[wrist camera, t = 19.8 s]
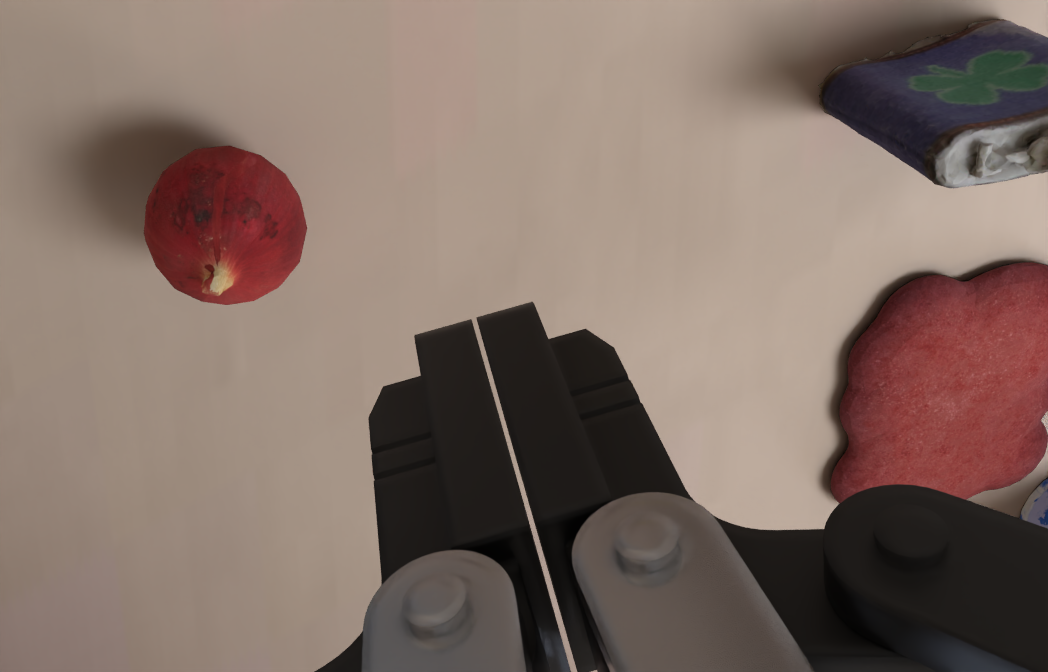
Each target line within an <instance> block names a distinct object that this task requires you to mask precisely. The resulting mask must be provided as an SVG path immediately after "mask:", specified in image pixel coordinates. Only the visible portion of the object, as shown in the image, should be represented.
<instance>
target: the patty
mask: <svg viewBox="0 0 1048 672" xmlns="http://www.w3.org/2000/svg"><path fill="white" fill-rule="evenodd" d="M847 371H848V378H849V382H848V386H847V389H846V391H845V393H844V395H843V398H842V401H841V404H840V410H839V416H840V420H841V423H842V426H843V428H844V429H845V431H846V432H847V434H848V439H849V445H848V448H847V450H846V452H845V454H844V455H843V456H842V458H841V459H840V460H839V461H838V463H837V464H836V467H835V469H834V471H833V473H832V477H831V491H832V494H833V496H834V497H835V499H836V500H837V501H838V502H839V503H841V502H843V501H844V500H845V499H847V498H848V497H850V496H852V495H854V494H856V493H857V492H860V491H863V490H866V489H869V488H872V487H877V486H882V485H894V484H904V485H916V486H922V487H928V488H931V489H935V490H938V491H942V492H945V493H948V494H950V495H953V496H956V497H959V498H962V499H965V500H967V499H968V498H970V497H972V496H974V495H976V494H978V493H981V492H983V491H986V490H994V489H999V488H1003V487H1007V486H1010V485H1012V484H1014V483H1016V482H1018V481H1020V480H1022V479H1023V478H1024V477H1025V476H1027V475H1028V474H1029V473H1031V472H1032V471H1033V470H1034V469H1035V468H1036V466H1037V465H1038V464H1039V462H1040V461H1041V459H1042V458H1043V456H1044V454H1045V451H1046V448H1047V443H1048V435H1047V431H1046V428H1045V426H1044V425H1043V423H1042V422H1041V419H1042V417H1043V416H1044V415H1045V413H1046V412H1047V411H1048V266H1047V265H1043V264H1038V263H1033V262H1024V263H1015V264H1010V265H1006V266H1002V267H998V268H995V269H992V270H990V271H988V272H985V273H983V274H981V275H979V276H977V277H975V278H973V279H971V280H969V281H966V282H964V281H958V280H956V279H953V278H950V277H947V276H943V275H930V276H924V277H920V278H917V279H915V280H913V281H911V282H909V283H907V284H906V285H904V286H902V287H900V288H899V289H898V290H897V291H896V292H895V293H893V294H892V295H891V296H890V298H889V299H888V300H887V301H886V302H885V304H884V305H883V307H882V309H881V311H880V312H879V314H878V316H877V318H876V319H875V320H874V322H873V323H872V324H871V325H870V326H869V327H868V329H867V330H866V331H865V332H864V333H863V334H862V335H861V336H860V337H859V339H858V340H857V341H856V343H855V345H854V346H853V348H852V350H851V353H850V356H849V360H848V367H847Z"/></svg>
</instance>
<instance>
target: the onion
mask: <svg viewBox="0 0 1048 672" xmlns="http://www.w3.org/2000/svg"><path fill="white" fill-rule="evenodd" d="M306 231H307V226H306V221H305V217H304V212H303V208H302V204H301V200H300V197H299V195H298V193H297V192H296V190H295V189H294V187H293V185H292V184H291V182H290V181H289V179H288V177H287V176H286V174H285V173H283V172H282V171H281V170H279V169H278V168H277V167H275V166H274V165H273V164H271V163H270V162H269V161H268V160H266V159H265V158H264V157H262V156H261V155H258V154H254V153H251V152H248V151H245V150H242V149H239V148H235V147H232V146H221V147H211V148H202V149H195V150H194V151H192V152H191V153H189V154H187V155H186V156H184V157H183V158H181V159H179V160H178V161H176V162H174V163H173V164H171V165H170V166H169V167H168V168H166V169H165V170H164V171H163V172H162V174H161V176H160V177H159V179H158V181H157V183H156V184H155V186H154V188H153V190H152V191H151V193H150V195H149V197H148V200H147V204H146V212H145V225H144V236H145V240H146V243H147V245H148V248H149V250H150V253H151V255H152V258H153V260H154V263H155V265H156V267H157V268H158V269H159V270H160V272H161V273H162V274H163V275H164V276H165V278H166V279H167V280H168V281H169V282H170V284H171V285H172V286H173V287H174V288H175V289H177V290H178V291H181V292H183V293H185V294H187V295H189V296H191V297H193V298H195V299H198V300H200V301H203V302H210V303H217V304H224V305H230V304H236V303H243V302H250V301H254V300H256V299H258V298H260V297H262V296H264V295H265V294H267V293H269V292H271V291H273V290H275V289H277V288H278V287H279V286H280V285H281V284H282V283H283V282H284V281H285V279H286V278H287V277H288V276H289V274H290V273H291V272H292V271H293V270H294V268H295V267H296V266H297V265H298V263H299V262H300V258H301V253H302V249H303V244H304V240H305V235H306Z"/></svg>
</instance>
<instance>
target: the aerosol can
mask: <svg viewBox="0 0 1048 672" xmlns="http://www.w3.org/2000/svg"><path fill="white" fill-rule="evenodd" d="M1020 519H1022V520H1025V521H1028V522H1031V523H1034V524H1036V525H1039V526H1042V527H1045V528H1048V478H1047V479H1046V480H1044V481H1043V482H1042V483H1041V484H1040V485H1039V486H1038V487H1037V489H1036V490H1035V491H1034V492H1033V493H1032V494H1031V495H1030V496H1029V498H1028V500H1027V502H1026V503H1025V505H1024V507H1023V508H1022V511H1021V516H1020Z"/></svg>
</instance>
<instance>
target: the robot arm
mask: <svg viewBox="0 0 1048 672" xmlns="http://www.w3.org/2000/svg"><path fill="white" fill-rule="evenodd" d="M477 322H478V325H479V329H480V332H481V336H482V339H483V343H484V347H485V350H486V354H487V357H488V361H489V364H490V368H491V371H492V375H493V379H494V382H495V386H496V389H497V393H498V396H499V400H500V403H501V407H502V410H503V414H504V418H505V421H506V425H507V428H508V432H509V435H510V439H511V442H512V446H513V449H514V453H515V456H516V460H517V463H518V467H519V470H520V474H521V477H522V481H523V484H524V488H525V491H526V495H527V498H528V501H529V505H530V508H531V512H532V515H533V519H534V522H535V526H536V529H537V533H538V536H539V540H540V543H541V547H542V550H543V554H544V557H545V561H546V564H547V568H548V571H549V574H550V578H551V581H552V585H553V588H554V592H555V595H556V599H557V602H558V606H559V609H560V613H561V616H562V620H563V623H564V627H565V630H566V634H567V637H568V641H569V644H570V648H571V651H572V654H573V658H574V661H575V665H576V668H577V672H591V671H594V670H597V671H598V672H1048V528H1045V527H1042V526H1039V525H1036V524H1034V523H1031V522H1028V521H1025V520H1022V519H1019V518H1016V517H1014V516H1011V515H1008V514H1005V513H1002V512H999V511H996V510H993V509H991V508H988V507H985V506H982V505H979V504H976V503H973V502H970V501H968V500H965V499H962V498H959V497H956V496H953V495H950V494H948V493H945V492H942V491H938V490H935V489H931V488H928V487H922V486H916V485H904V484H894V485H882V486H877V487H872V488H869V489H866V490H863V491H860V492H857V493H856V494H854V495H852V496H850V497H848V498H847V499H845V500H844V501H843V502H841V503H840V504H839V505H838V506H837V507H836V508H835V509H834V510H833V512H832V513H831V514H830V516H829V518H828V520H827V522H826V525H825V529H813V530H758V529H751V528H745V527H741V526H738V525H734V524H731V523H728V522H726V521H723V520H721V519H718V518H717V517H715V516H713V515H712V514H711V513H710V512H709V511H707V510H706V509H705V508H704V507H703V506H701V505H699V504H698V503H696V502H695V501H694V500H693V499H692V498H691V497H690V495H689V494H688V492H687V491H686V489H685V487H684V485H683V483H682V481H681V479H680V477H679V475H678V474H677V472H676V470H675V468H674V466H673V464H672V462H671V460H670V458H669V456H668V454H667V452H666V450H665V448H664V446H663V444H662V442H661V440H660V438H659V436H658V434H657V432H656V430H655V428H654V426H653V424H652V422H651V420H650V418H649V416H648V414H647V412H646V410H645V408H644V406H643V404H642V403H640V400H639V396H638V394H637V392H636V390H635V389H634V387H633V385H632V383H631V381H630V380H629V379H628V375H627V373H626V371H625V369H624V367H623V365H622V363H621V361H620V359H619V357H618V355H617V353H616V351H615V349H614V347H612V346H611V345H609V344H608V343H606V342H605V341H603V340H602V339H600V338H599V337H597V336H596V335H594V334H593V333H591V332H590V331H588V330H586V329H583V330H579V331H576V332H572V333H569V334H565V335H562V336H558V337H555V338H551V339H548V337H547V335H546V332H545V330H544V327H543V325H542V322H541V320H540V317H539V315H538V312H537V310H536V307H535V305H534V303H533V302H530V303H526V304H523V305H519V306H516V307H512V308H508V309H505V310H501V311H498V312H494V313H491V314H487V315H484V316H480V317H477ZM415 344H416V349H417V355H418V361H419V367H420V373H421V376H419V377H415V378H412V379H408V380H405V381H401V382H398V383H394V384H390V385H387V386H383V388H382V390H381V392H380V395H379V397H378V399H377V401H376V403H375V405H374V407H373V409H372V412H371V414H370V416H369V430H370V442H371V450H372V454H373V455H372V466H373V475H374V479H375V481H374V490H375V503H376V515H377V527H378V539H379V551H380V563H381V575H382V585H381V587H380V588H379V589H378V591H377V592H376V593H375V595H374V596H373V598H372V600H371V602H370V604H369V606H368V609H367V612H366V615H365V619H364V626H363V632H362V633H361V634H360V636H359V637H358V638H357V639H356V640H355V641H354V642H353V643H352V644H351V645H350V646H349V647H348V648H347V649H346V650H345V651H344V652H342V653H341V654H340V655H339V656H338V657H336V658H335V659H333V660H332V661H331V662H329V663H328V664H326V665H325V666H323V667H322V668H320V669H318V670H317V671H315V672H571V671H570V667H569V664H568V660H567V656H566V653H565V649H564V646H563V642H562V639H561V635H560V631H559V628H558V624H557V621H556V617H555V614H554V610H553V607H552V603H551V599H550V596H549V592H548V589H547V585H546V582H545V578H544V574H543V571H542V567H541V564H540V560H539V557H538V553H537V549H536V546H535V542H534V539H533V535H532V532H531V528H530V524H529V521H528V517H527V514H526V510H525V507H524V503H523V499H522V496H521V492H520V489H519V485H518V482H517V478H516V474H515V471H514V467H513V464H512V460H511V457H510V453H509V450H508V446H507V442H506V439H505V435H504V432H503V428H502V425H501V421H500V418H499V414H498V411H497V407H496V404H495V400H494V397H493V393H492V390H491V386H490V383H489V379H488V376H487V372H486V369H485V365H484V362H483V358H482V355H481V351H480V348H479V344H478V341H477V337H476V334H475V330H474V327H473V323H472V320H471V319H470V320H467V321H463V322H460V323H456V324H453V325H449V326H445V327H442V328H438V329H435V330H431V331H428V332H424V333H421V334H417V335H415Z"/></svg>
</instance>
